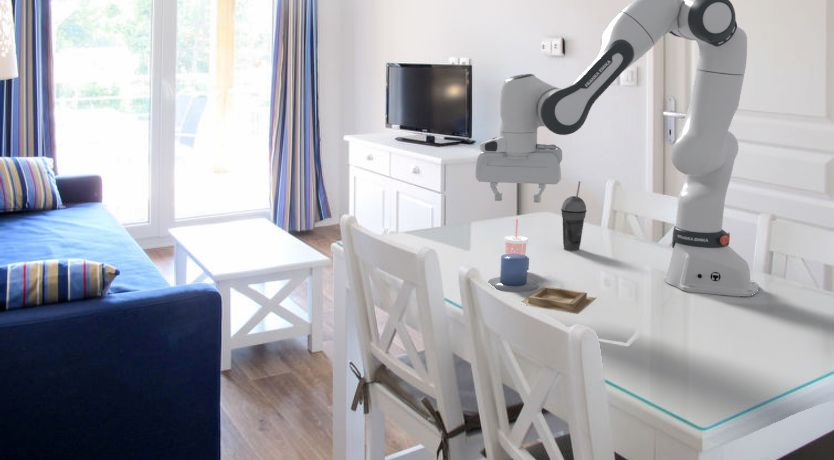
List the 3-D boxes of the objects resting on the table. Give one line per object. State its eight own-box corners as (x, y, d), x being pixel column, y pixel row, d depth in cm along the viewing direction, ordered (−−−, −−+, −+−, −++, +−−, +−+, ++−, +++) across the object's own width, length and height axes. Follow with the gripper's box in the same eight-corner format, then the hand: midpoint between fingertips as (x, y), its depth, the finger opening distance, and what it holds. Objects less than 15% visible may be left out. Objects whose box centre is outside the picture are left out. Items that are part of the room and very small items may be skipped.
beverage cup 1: (517, 267, 236) (519, 215, 233) (531, 273, 230) (533, 220, 227) (498, 269, 233) (500, 217, 230) (511, 275, 227) (514, 222, 224)
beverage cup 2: (557, 246, 261) (561, 178, 256) (582, 246, 260) (586, 179, 256) (560, 251, 254) (564, 183, 249) (585, 252, 253) (590, 183, 249)
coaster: (543, 284, 220) (544, 280, 219) (526, 296, 209) (526, 292, 209) (499, 277, 225) (499, 274, 225) (480, 289, 215) (480, 285, 214)
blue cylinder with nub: (519, 287, 213) (520, 261, 212) (495, 283, 216) (496, 257, 215) (536, 279, 221) (537, 254, 219) (513, 275, 224) (514, 250, 223)
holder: (595, 300, 208) (596, 292, 207) (577, 316, 196) (577, 307, 195) (539, 291, 214) (539, 283, 214) (518, 306, 202) (518, 297, 201)
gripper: (564, 143, 209) (563, 201, 212) (480, 141, 216) (479, 197, 218) (560, 146, 204) (559, 205, 206) (473, 144, 210) (473, 201, 212)
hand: (517, 201), depth 212 cm, fingers open, 8 cm apart
